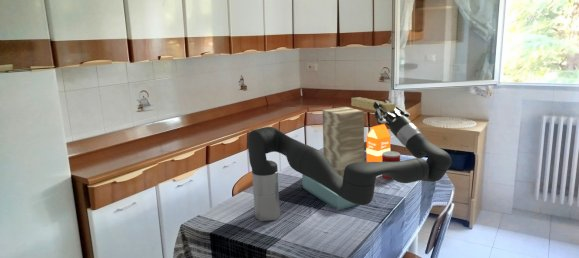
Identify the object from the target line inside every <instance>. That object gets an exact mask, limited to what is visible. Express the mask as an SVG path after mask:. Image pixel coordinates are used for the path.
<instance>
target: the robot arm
mask: <svg viewBox="0 0 579 258" xmlns="http://www.w3.org/2000/svg"><path fill="white" fill-rule="evenodd" d="M377 101H378V100H377ZM377 101H376V102H374V105H373V107H374V108H375V109H376V111H374V117H375V119H376V121H377V125H382V124H385V125H386V126H388V127H389V129H390V132H391V133H392V134H393V136H395V138H397V140H398V141H399V142H400V143H401V144H402V146H404V147H405V148H406V149H407V151H409V153H410V154H411V155H412V156H413V157H414V158H411V159H406V160H400V161H398V162H367V161H364V162H357V163H351V164H349V165H347V166H346V167H345V170H344V175H343V177H342V176H340V175H339V174H338V173H337V172H336V170H335V169H334V167H333V166H332V164H331V163H330V162H329V160H328V159H327V157H326V156H325V155H324V152H322V151H321V150H320V149H317V148H315V147H313V146H311V145H308V144H305V143H303V142H301V141H300V140H297V139H294V138H292V137H290V136H288V134H285V132H284V133H283V132H282V131H280V130H279V129H278V128H275V127H273V126H265V127H260V128H256V129H252V130H251V131H250V132H249V133H248V136H247V140H246V141H247V150H248V158H249V159H248V160H249V164H250V167H251V174H252V176H251V177H252V189H253V191H252V192H253V204H254V205H253V206H254V216H255V217H254V218H255V219H257V220H258V221H259V222H268V221H269V222H270V221H277V220H278V218H279V217H280V216H281V212H280V211H281V210H280V193H279V191H280V190H279V174H278V173H279V171H278V164H277V163H276V162H275V161H273V160H269V159H267V154H270V153H273V152H274V153H279V154H281V155H283V156H285V157H286V160H287V163H288V164H289V166H290V167H291V169H293V170H294V171H296V172H297V173H299V174H301V175H305V176H307V177H309V178H311V179H313V180H315V181H317V182H319V183H321V184H322V185H324V186H326V187H327V188H329V189H330V190H332V191H333V192H334V193H336V194H337V195H339V196H340V197H342V198H343V199H345V200H347V201H349V202H351V203H354V204H358V205H357V206H359V205H360V206H366V205H369V204H371V202H372V201H373V199H374V193H375V187H376V182H377V181H376V180H377V177H378V176H382V175H386V176H388V177H390V178H392V179H391V180H393V181H395V182H397V183H400V184H410V183H415V182H418V181H419V182H420V181H421V182H422V181H423V182H430V183H435V182H438V181H440V180H442V178H444V176H445V174H446V173H447V171H448V170H449V168H450V167H451V165H452V163H453V162H452V160H453V159H452V157H451V156H450V154H449V153H448V152H447V151H445V150H444V149H442V148H440V147H439V146H437V145H436V144H434V143H432V142H430V140H428V138H427V137H425V135H424V134H423V133H422V132H421V130H420V129H419V128H418V127H417V126H416V124H415V123H413V122H412V120H411V119H410V115H411V114H410V113H409V112H408V111H407V110H405V109H404V108H402V107H400V106H399V105H395V109H394V111H395V112H392V113H390V112H389V111H388V110H384V109H383V108H382V107H381V106H380V104H379V103H378V102H377ZM383 102H387V103H390V102H389V101H388V100H387V99H385V100H384V101H383ZM382 112H383V113H382ZM426 156H428V157H427V159H426V160H425V159H424V158H425V157H426Z"/></svg>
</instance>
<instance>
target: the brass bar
mask: <svg viewBox="0 0 579 258" xmlns="http://www.w3.org/2000/svg"><path fill="white" fill-rule="evenodd" d="M376 101H377V102H378V103H379V104H380V106H381V107H382V108H383V109H384V110H388V111H389V112H390V113H392V112H395V111H394V109H395V107H396V103H393V102H392V103H391V102H389V103H387V102H384V101H382V100H376V99H372V98H367V97H361V96H358V97H351V106H353V107H357V108H360V109H365V110H370V111H374V112H376V109H375V108H374V107H373V105H374V102H376ZM381 113H383V112H381Z"/></svg>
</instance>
